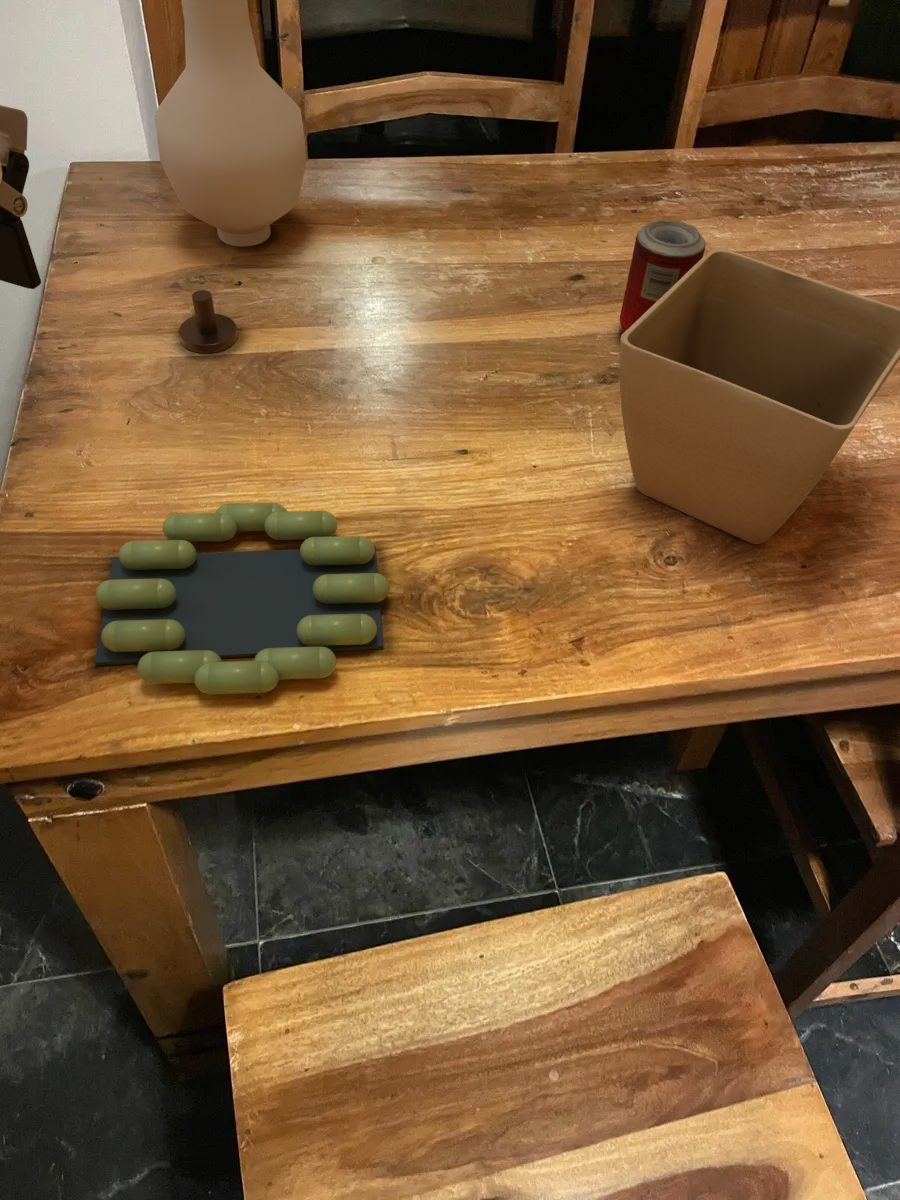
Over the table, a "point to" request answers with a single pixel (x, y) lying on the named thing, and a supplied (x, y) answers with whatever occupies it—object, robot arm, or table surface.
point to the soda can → (658, 265)
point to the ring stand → (207, 327)
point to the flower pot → (748, 388)
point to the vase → (230, 128)
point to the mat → (240, 603)
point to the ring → (270, 661)
